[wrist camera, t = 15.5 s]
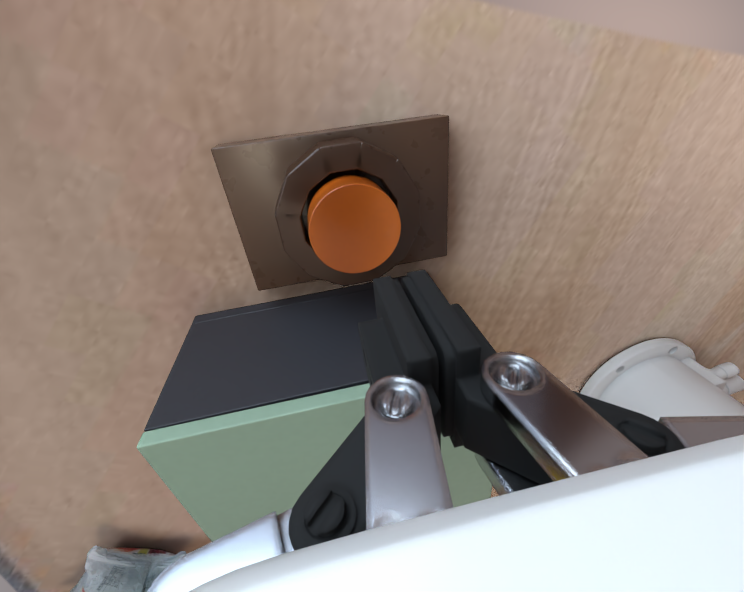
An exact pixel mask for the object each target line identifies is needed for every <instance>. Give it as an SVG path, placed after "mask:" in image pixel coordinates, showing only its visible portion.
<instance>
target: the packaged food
mask: <svg viewBox="0 0 744 592" xmlns="http://www.w3.org/2000/svg"><path fill="white" fill-rule="evenodd" d="M185 555H186V552H185V551H180V552H179V553H178V554H172V553H169V552H166V551H163V550H159V549H158V550H156V549H144V548H103V549H102V548H101V547H98V546H94V547H93V548H92V549H91V550H89V552H88V554H87V559H86V564H85V570H86V572H85V573H84V574H83V576H82V577H81V579H80V580H79V582H78V584H77V585H76V586H75V587H74V588H73V589H72V590H71V591H70V592H147V591H148V590H149V588H150V586H151V584H152V583H153V581H154V580H155V579H156V578H157V577H158V576H159V575H160V573H161V572H162V571H163V570H164V569H165V568H166V567H167V566H169V565H170V564H172V563H173V562H175V561H176V560H178V559H179V558H181V557H183V556H185Z"/></svg>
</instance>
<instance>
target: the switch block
mask: <svg viewBox="0 0 744 592" xmlns="http://www.w3.org/2000/svg"><path fill="white" fill-rule="evenodd" d="M448 147H449V116H446V115H438V114H437V115H430V116H423V117H415V118H408V119H401V120H393V121H386V122H379V123H371V124H364V125H357V126H349V127H342V128H335V129H328V130H320V131H313V132H306V133H298V134H291V135H284V136H276V137H269V138H262V139H254V140H247V141H240V142H233V143H225V144H218V145H216V146H215V147H213V148H212V149H211V151H212V154H213V157H214V160H215V163H216V166H217V169H218V172H219V175H220V178H221V181H222V184H223V187H224V190H225V193H226V196H227V199H228V202H229V205H230V208H231V211H232V214H233V217H234V220H235V223H236V225H237V228H238V231H239V234H240V237H241V240H242V243H243V246H244V249H245V252H246V255H247V258H248V261H249V264H250V267H251V270H252V273H253V276H254V279H255V282H256V285H257V288H258V290H259V291H260V290H265V289H270V288H276V287H281V286H287V285H292V284H297V283H303V282H308V281H313V280H319V279H321V280H325V281H328V282H332V283H335V284H339V285H343V286H347V285H352V284H357V283H362V282H368V281H373V279H375V278H380V277H381V276H382V275H384V274H385V273H386V272H388V271H389V270H390V269H392V268H393V267H394V266H396V265H399V264H404V263H410V262H415V261H420V260H426V259H431V258H436V257H442V256H446V255H447V208H448ZM346 175H356V176H361V177H364V178H367V179H369V180H371V181H373V182H374V183H376V184H377V185H378V186H379V187H380V188H381V189H382V190H383V191H384V192H385V193H386V194H387V195H388V196H389V197H390V199H391V200H392V201H393V202H394V204H395V206H396V207H397V210H398V212H399V215H400V220H401V233H400V238H399V241H398V244H397V246H396V248H395V250H394V251H393V253H392V254H391V255H390V257H389V258H388V259H387V260H386V261H385V262H383V263H382V264H381V265H379V266H378V267H376V268H374V269H372V270H369V271H366V272H362V273H344V272H340V271H337V270H334V269H332V268H330V267H329V266H327V265H326V264H324V263H323V262H322V261H321V260H320V259H319V258H318V256H317V255H316V254H315V252H314V250H313V248H312V246H311V243H310V239H309V232H308V222H307V215H308V209H309V205H310V202H311V200H312V198H313V196H314V195H315V193H316V192H317V191H318V189H320V188H321V187H322V186H323V185H324V184H325V183H327V182H328V181H330V180H332V179H334V178H337V177H340V176H346Z"/></svg>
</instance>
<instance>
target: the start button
mask: <svg viewBox="0 0 744 592" xmlns="http://www.w3.org/2000/svg"><path fill="white" fill-rule="evenodd" d="M307 222H308V232H309V239H310V243H311V246H312V248H313V250H314V252H315V254H316V255H317V256H318V258H319V259H320V260H321V261H322V262H323V263H324V264H326V265H327V266H329V267H330V268H332V269H334V270H337V271H340V272H344V273H362V272H366V271H369V270H372V269H374V268H376V267H378V266H379V265H381V264H382V263H383V262H385V261H386V260H387V259H388V258H389V257H390V255H391V254H392V253H393V251H394V250H395V248H396V246H397V244H398V241H399V238H400V233H401V220H400V215H399V212H398V210H397V207H396V206H395V204H394V202H393V201H392V200H391V199H390V197H389V196H388V195H387V194H386V193H385V192H384V191H383V190H382V189H381V188H380V187H379V186H378V185H377V184H376V183H374V182H373V181H371V180H369V179H367V178H364V177H361V176H356V175H346V176H340V177H337V178H334V179H332V180H330V181H328V182H327V183H325V184H324V185H323V186H322V187H321V188H320V189H318V191H317V192H316V193H315V195H314V196H313V198H312V200H311V202H310V205H309V209H308V215H307Z"/></svg>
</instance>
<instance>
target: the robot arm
mask: <svg viewBox="0 0 744 592" xmlns="http://www.w3.org/2000/svg"><path fill="white" fill-rule="evenodd" d="M401 284H402V287H401V285H400V283H399V281H398V279H395V280H392V278H391V277H390V276H387V277H381V278H375V279H373V288H374V296H375V304H376V313H377V319H374V320H369V321H363V322H358V329H359V335H360V342H361V347H362V353H363V358H364V363H365V367H366V372H367V376H368V380H369V384H370V387H369V389H368V390H367V392H366V395H365V401H364V406H365V416H364V417H363V418H362V419H361V421H360V422H359V423H358V424H357V426H356V427H355V428H354V429H353V430H352V432H351V433H350V434H349V435H348V437H347V438H346V439H345V440H344V442H343V443H342V444H341V445H340V447H339V448H338V449H337V450H336V452H335V453H334V454H333V455H332V457H331V458H330V459H329V460H328V462H327V463H326V464H325V465H324V467H323V468H322V469H321V470H320V472H319V473H318V474H317V475H316V476H315V478H314V479H313V480H312V481H311V483H310V484H309V485H308V486H307V488H306V489H305V490H304V491H303V493H302V494H301V495H300V496H299V498H298V500H297V501H296V503H295V505H294V506H293V508H291V509H289V510H287V511H285V512H283V513H281V514H279V515H277V513H276V511H274V512H272V513H270V514H268V515H266V516H264V517H262V518H260V519H258V520H256V521H254V522H252V523H250V524H248V525H245V526H243V527H241V528H239V529H237V530H235V531H233V532H231V533H229V534H227V535H225V536H223V537H221V538H219V539H217V540H215V541H213V542H211V543H209V544H207V545H205V546H203V547H201V548H199V549H197V550H195V551H193V552H191V553H189V554H187V555H185V556H183V557H181V558H179V559H178V560H176V561H175V562H173V563H172V564H170V565H169V566H167V567H166V568H165V569H164V570H163V571H162V572H161V573H160V575H159V576H158V577H157V578H156V579H155V580H154V581H153V583H152V584H151V586H150V588H149V590H148V591H147V592H744V405H743V404H742V403H740V402H739V401H737V400H736V399H734V398H733V397H731V396H730V395H731V394H733V393H736V392H739V391H741V390H744V381H743V379H742V378H741V377H740V376H738V374H739V369H738V367H737V366H736V365H735V364H733V363H731V362H725V363H722V364H719V365H717V366H714V367H713V368H711V369H708V368H705V367H703V366H702V365H700V364H699V363H697V362H696V360H695V354H694V352H693V350H692V349H691V348H689V347H688V346H687V345H685V344H684V343H682V342H680V341H678V340H676V339H671V338H657V339H652V340H648V341H644V342H642V343H639V344H636V345H634V346H632V347H630V348H628V349H626V350H624V351H622V352H620V353H619V354H617V355H616V356H614V357H612V358H611V359H610V360H608V361H607V362H606V363H605V364H603V365H602V366H601V367H600V368H599V369H598V370H597V371H596V372H595V373H594V374H593V375H592V376H591V377H590V379H589V380H588V381H587V382H586V384H585V385H584V387H583V389H582V390H581V392H580V393H577V392H574V391H571V390H570V389H569V388H568V387H567V386H565V385H564V384H563V383H562V382H561V381H560V380H558V379H557V378H556V377H555V376H554V375H553V374H551V373H550V372H549V371H548V370H547V369H546V368H544V367H543V366H542V365H541V364H540V363H538V362H537V361H536V360H534V359H533V358H531V357H528V356H526V355H524V354H520V353H515V352H500V353H496V351H495V350H494V349H493V348H492V346H491V345H490V344H489V342H488V341H487V340H486V338H485V337H484V336H483V335H482V333H481V332H480V331H479V329H478V328H477V327H476V326H475V324H474V323H473V322H472V320H471V319H470V318H469V316H468V315H467V314H466V313H465V311H464V310H463V309H462V307H461V306H460V305H459V304H452V305H450V304H449V302H448V301H447V299H446V298H445V297H444V295H443V294H442V293H441V291H440V290H439V288H438V287H437V286H436V284H435V283H434V282H433V280H432V279H431V277H430V276H429V275H428V273H427V272H426V271H425V270H420V271H414V272H409V273H407V277H406V278H402V280H401ZM441 434H442V436H443V437H447V436H449V437H450V439H451V442H452V444H453V446H454V448H456V447H460V446H464V448H466V449H468V450H470V451H472V452H474V453H475V458H476V460H477V462H478V464H479V466H480V467H481V469H482V470H483V472H484V473H485V475H486V476H487V478H488V479H489V481H490V483H491V484H492V486H493V487H494V489H495V490H496V492H497V493H498V495H499V496H496V497H492V498H488V499H485V500H481V501H477V502H473V503H469V504H465V505H462V506H458V507H454V508H453V503H452V499H451V494H450V490H449V485H448V481H447V477H446V472H445V468H444V463H443V459H442V455H441Z"/></svg>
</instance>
